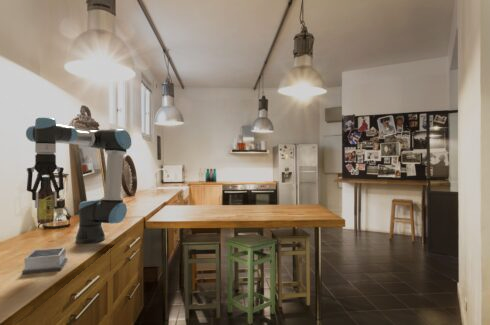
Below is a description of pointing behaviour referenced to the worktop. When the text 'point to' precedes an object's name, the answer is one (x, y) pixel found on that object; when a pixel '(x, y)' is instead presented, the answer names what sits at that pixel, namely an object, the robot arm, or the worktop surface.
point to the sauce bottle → (45, 202)
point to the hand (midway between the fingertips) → (45, 206)
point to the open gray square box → (45, 260)
